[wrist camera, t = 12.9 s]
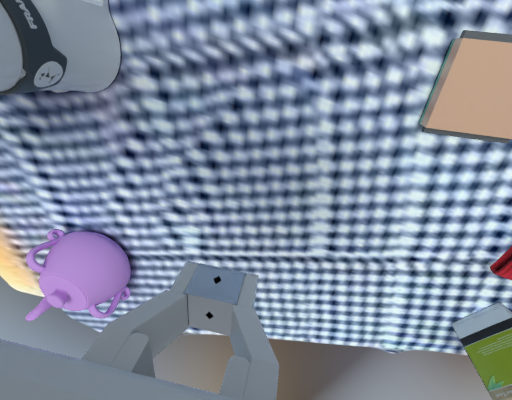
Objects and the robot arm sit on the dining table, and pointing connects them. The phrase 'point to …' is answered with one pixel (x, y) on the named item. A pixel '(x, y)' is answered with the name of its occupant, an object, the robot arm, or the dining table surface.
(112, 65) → the robot arm
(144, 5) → the dining table surface
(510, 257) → the dish drying mat
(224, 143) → the dining table surface
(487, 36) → the mat
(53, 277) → the teapot
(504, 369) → the tea box
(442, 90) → the tile
